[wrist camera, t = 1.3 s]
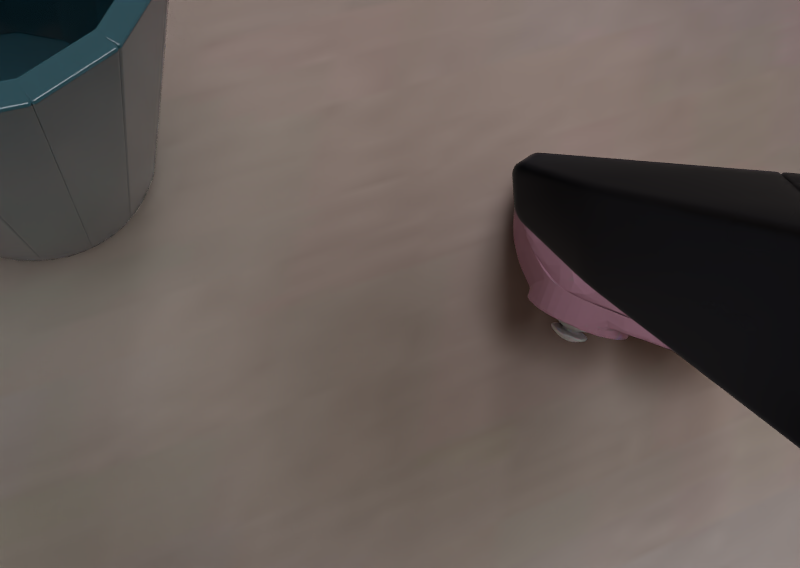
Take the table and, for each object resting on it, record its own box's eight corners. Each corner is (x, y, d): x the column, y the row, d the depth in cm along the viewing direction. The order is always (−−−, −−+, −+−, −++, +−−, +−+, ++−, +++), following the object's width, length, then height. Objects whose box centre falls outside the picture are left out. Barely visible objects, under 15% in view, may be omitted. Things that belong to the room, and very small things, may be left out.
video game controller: (471, 275, 27) (544, 356, 21) (518, 160, 26) (611, 209, 20) (681, 337, 30) (802, 425, 24) (732, 236, 29) (873, 300, 23)
